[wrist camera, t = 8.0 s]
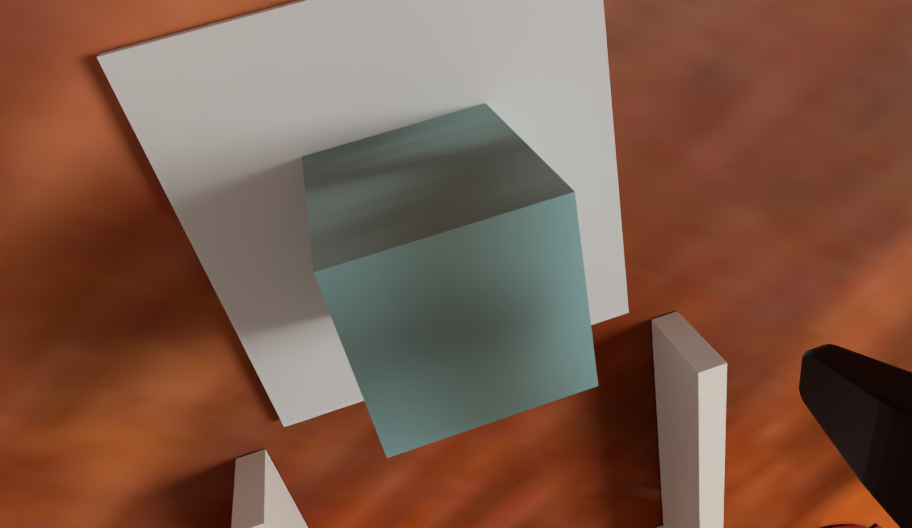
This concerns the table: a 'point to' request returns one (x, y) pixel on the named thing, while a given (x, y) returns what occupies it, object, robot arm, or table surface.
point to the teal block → (450, 275)
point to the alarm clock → (854, 526)
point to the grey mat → (347, 120)
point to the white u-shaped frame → (679, 436)
